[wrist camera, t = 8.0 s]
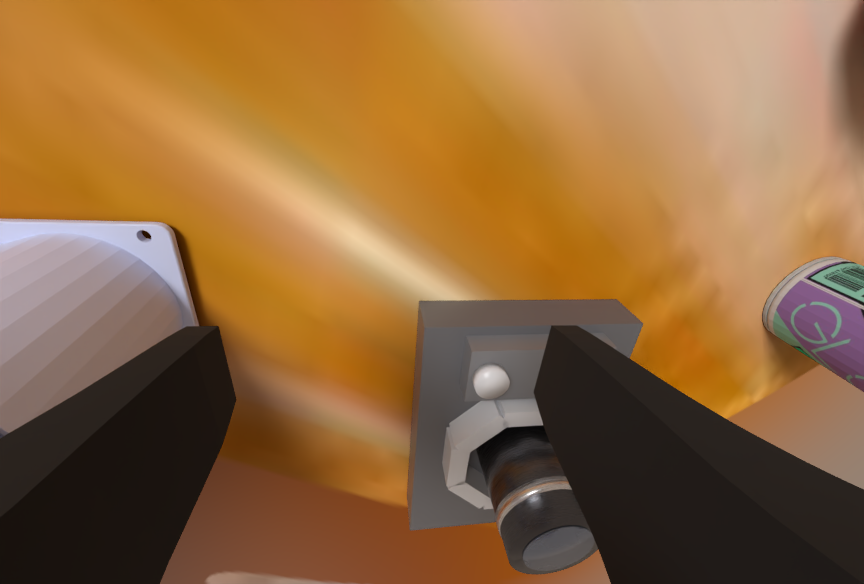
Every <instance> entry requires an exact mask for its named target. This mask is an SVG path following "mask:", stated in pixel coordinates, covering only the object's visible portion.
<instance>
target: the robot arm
mask: <svg viewBox="0 0 864 584" xmlns="http://www.w3.org/2000/svg"><path fill="white" fill-rule="evenodd" d="M142 230H144V231H147V232H148V233H149V234H150V235H151V239H148V238H146V237H145V236H143V234H142ZM534 395H535V399H536V402H537V406H538V409H539V413H540V416H541V419H542V422H543V425H544V428H545V431H546V434H547V436H548V438H549V441H550V443H551V445H552V447H553V450H554V452H555V454H556V456H557V458H558V461H559V463H560V465H561V467H562V469H563V472H564V474H565V476H566V478H567V480H568V482H569V485H570V487H571V489H572V491H573V493H574V495H575V498H576V500H577V502H578V504H579V506H580V508H581V511H582V513H583V515H584V517H585V519H586V521H587V524H588V526H589V528H590V530H591V533H592V535H593V537H594V540H595V542H596V545H597V547H598V549H599V552H600V554H601V557H602V560H603V562H604V564H605V568H606V571H607V574H608V576H609V579H610V582H611V584H864V490H863V489H861V488H859V487H857V486H855V485H853V484H850V483H848V482H846V481H844V480H842V479H840V478H838V477H835V476H833V475H831V474H829V473H827V472H825V471H823V470H821V469H819V468H817V467H815V466H813V465H811V464H809V463H807V462H805V461H803V460H801V459H799V458H797V457H795V456H793V455H792V454H790V453H788V452H786V451H784V450H782V449H780V448H778V447H776V446H774V445H773V444H771V443H769V442H767V441H765V440H763V439H761V438H759V437H757V436H755V435H754V434H752V433H750V432H748V431H746V430H745V429H743V428H741V427H739V426H737V425H736V424H734V423H732V422H730V421H729V420H727V419H725V418H723V417H722V416H720V415H718V414H717V413H715V412H713V411H712V410H710V409H708V408H707V407H705V406H703V405H702V404H700V403H698V402H697V401H695V400H693V399H692V398H690V397H688V396H687V395H685V394H684V393H682V392H680V391H679V390H677V389H676V388H674V387H672V386H671V385H669V384H668V383H666V382H665V381H663V380H661V379H660V378H658V377H657V376H655V375H654V374H652V373H651V372H649V371H648V370H646V369H645V368H643V367H641V366H640V365H638V364H637V363H635V362H634V361H632V360H631V359H629V358H628V357H626V356H625V355H623V354H622V353H620V352H619V351H617V350H616V349H614V348H613V347H611V346H610V345H608V344H607V343H605V342H603V341H602V340H600V339H599V338H597V337H596V336H594V335H592V334H591V333H589V332H587V331H586V330H584V329H582V328H580V327H579V326H577V325H551V329H550V333H549V336H548V340H547V344H546V347H545V351H544V355H543V359H542V362H541V366H540V370H539V373H538V377H537V381H536V385H535V388H534ZM235 402H236V396H235V392H234V388H233V384H232V380H231V376H230V372H229V368H228V364H227V360H226V355H225V351H224V347H223V343H222V339H221V335H220V331H219V327H218V326H199V323H198V320H197V316H196V312H195V308H194V305H193V301H192V297H191V293H190V290H189V286H188V282H187V278H186V275H185V271H184V267H183V263H182V260H181V256H180V252H179V248H178V245H177V241H176V237H175V234H174V232H173V229H172V228H171V227H169V226H168V225H166V224H165V223H161V222H133V221H86V220H39V219H0V584H160V582H161V579H162V576H163V574H164V572H165V570H166V567H167V565H168V562H169V560H170V558H171V556H172V554H173V552H174V549H175V547H176V545H177V543H178V541H179V539H180V536H181V534H182V532H183V530H184V528H185V525H186V523H187V521H188V519H189V517H190V515H191V512H192V510H193V508H194V506H195V504H196V502H197V500H198V497H199V495H200V493H201V491H202V489H203V487H204V484H205V482H206V480H207V478H208V475H209V473H210V471H211V469H212V467H213V464H214V462H215V460H216V458H217V456H218V453H219V451H220V449H221V447H222V444H223V441H224V438H225V435H226V432H227V429H228V426H229V422H230V419H231V416H232V412H233V409H234V405H235Z"/></svg>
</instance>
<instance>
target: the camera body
mask: <svg viewBox="0 0 864 584" xmlns="http://www.w3.org/2000/svg"><path fill="white" fill-rule="evenodd" d="M551 325H577V326H579V327H580V328H582V329H584V330H586V331H587V332H589V333H591V334H592V335H594V336H596V337H597V338H599V339H600V340H602V341H603V342H605V343H607V344H608V345H610V346H611V347H613V348H614V349H616V350H617V351H619V352H620V353H622V354H623V355H625V356H626V357H628V358H630V356H631V353H632V351H633V348H634V346H635V343H636V341H637V338H638V336H639V333H640V331H641V328H642V326H643V323H642V322H641V321H640V320H639V319H638V318H637V317H636V316H634V315H633V314H632V313H631V312H630V311H629V310H628V309H627V308H626V307H624V306H623V305H622V304H621V303H620V302H619V301H618V300H617V299H614V300H491V301H419V310H418V326H417V342H416V359H415V375H414V391H413V407H412V424H411V440H410V456H409V472H408V489H407V501H408V513H409V525H410V530H420V529H430V528H440V527H449V526H460V525H470V524H480V523H490V522H496V519H495V512H494V509H493V506H492V502H491V499H490V496H489V492H488V489H487V486H486V482H485V479H484V475H483V472H482V469H481V465H480V462H479V459H478V455H477V452H476V448H477V447H479V446H480V445H482V444H483V443H485V442H486V441H488V440H489V439H491V438H492V437H493V436H495V435H496V434H498V433H499V432H501V431H502V430H504V429H505V428H507V427H521V426H537V425H543V422H542V419H541V416H540V413H539V409H538V406H537V402H536V399H535V395H534V388H535V385H536V381H537V377H538V373H539V370H540V366H541V362H542V359H543V355H544V351H545V347H546V344H547V340H548V336H549V333H550V329H551Z"/></svg>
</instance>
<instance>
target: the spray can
mask: <svg viewBox="0 0 864 584" xmlns="http://www.w3.org/2000/svg"><path fill="white" fill-rule="evenodd" d="M763 323H764V326H765V327H766V328H767V330H768V331H770V332H771V333H773V334H774V335H775V336H777V337H778V338H780V339H782V340H783V341H785V342H786V343H788V344H789V345H791V346H793V347H794V348H796V349H797V350H799V351H800V352H802V353H804V354H805V355H807V356H808V357H810V358H811V359H813V360H815V361H816V362H818V363H819V364H821V365H822V366H824V367H826V368H827V369H829V370H830V371H832V372H833V373H835V374H837V375H838V376H840V377H841V378H843V379H844V380H846V381H847V382H849V383H851V384H852V385H854V386H855V387H857V388H859V389H860V390H862V391H863V392H864V266H862V265H859V264H856V263H854V262H851V261H848V260H845V259H842V258H839V257H824V258H820V259H817V260H813V261H811V262H809V263H807V264H804V265H803V266H801V267H799V268H798V269H796V270H795V271H793V272H792V273H791V274H789V275H788V276H787V277H786V278H785V279H784V280H783V281H781V282H780V283H779V284H778V286H777V287H776V288H775V289H774V290H773V292H772V293H771V295H770V296H769V298H768V300H767V302H766V304H765V307H764V311H763Z"/></svg>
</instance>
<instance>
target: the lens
mask: <svg viewBox="0 0 864 584" xmlns="http://www.w3.org/2000/svg"><path fill="white" fill-rule="evenodd" d="M476 452H477V455H478V459H479V462H480V465H481V469H482V472H483V475H484V479H485V482H486V486H487V489H488V492H489V496H490V499H491V502H492V506H493V509H494V512H495V519H496V523H497V526H498V530H499V533H500V535H501V537H502V539H503V543H504V546H505V550H506V553H507V556H508V560H509V563H510V565H511V566H512V567H513V568H514V569H515V570H517V571H519V572H522V573H526V574H546V573H553V572H557V571H561V570H564V569H567V568H569V567H572V566H574V565H576V564H578V563H580V562H582V561H583V560H585V559H587V558H588V557H589V556H591V555H592V554H593V553H594V552H595V551H596V550H598V547H597V545H596V542H595V540H594V537H593V535H592V533H591V530H590V528H589V526H588V524H587V521H586V519H585V517H584V515H583V513H582V511H581V508H580V506H579V504H578V502H577V500H576V498H575V495H574V493H573V491H572V489H571V487H570V485H569V482H568V480H567V478H566V476H565V474H564V472H563V469H562V467H561V465H560V463H559V461H558V458H557V456H556V454H555V452H554V450H553V447H552V445H551V443H550V441H549V438H548V436H547V434H546V431H545V428H544V425H537V426H521V427H507V428H505V429H504V430H502V431H501V432H499V433H498V434H496V435H495V436H493V437H492V438H491V439H489V440H488V441H486V442H485V443H483V444H482V445H480V446H479V447H477V448H476Z"/></svg>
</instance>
